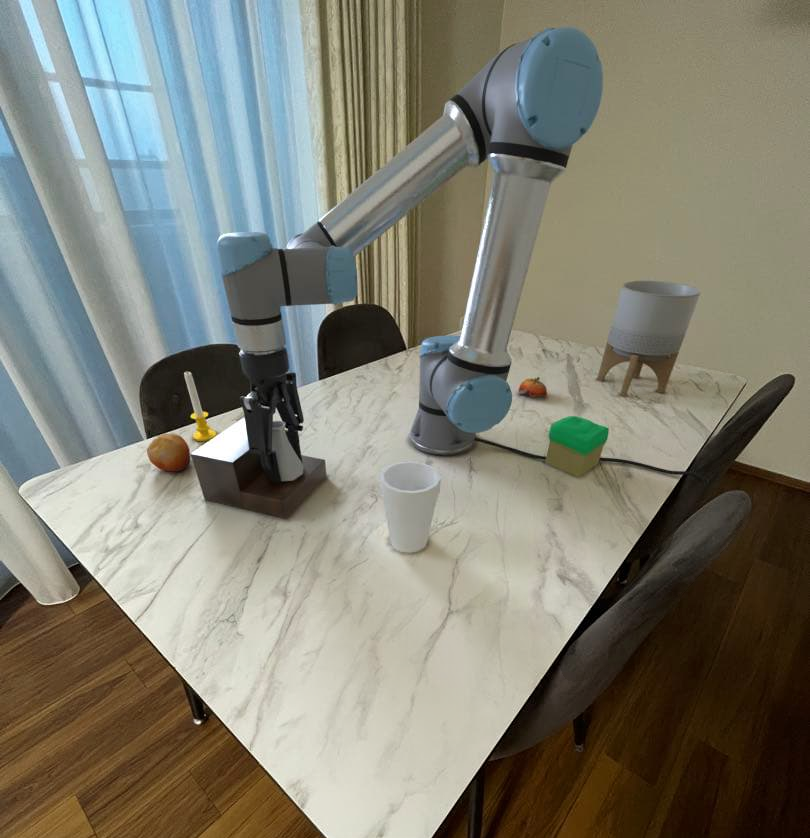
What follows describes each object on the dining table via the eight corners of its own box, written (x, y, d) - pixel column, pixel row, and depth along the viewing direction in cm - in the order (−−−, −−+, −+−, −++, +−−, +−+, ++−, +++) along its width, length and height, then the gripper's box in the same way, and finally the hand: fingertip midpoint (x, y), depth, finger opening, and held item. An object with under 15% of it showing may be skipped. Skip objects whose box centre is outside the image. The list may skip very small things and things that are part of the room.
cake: (559, 446, 108) (569, 405, 102) (602, 463, 102) (616, 420, 96) (536, 461, 103) (545, 418, 97) (580, 479, 97) (592, 435, 91)
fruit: (206, 451, 102) (184, 430, 95) (190, 483, 100) (167, 464, 92) (175, 445, 104) (152, 424, 97) (159, 476, 102) (134, 457, 94)
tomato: (552, 397, 127) (537, 375, 125) (529, 412, 130) (515, 391, 128) (548, 390, 134) (534, 369, 132) (527, 405, 137) (513, 385, 135)
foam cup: (380, 525, 84) (379, 462, 76) (431, 523, 85) (435, 460, 77) (383, 560, 77) (381, 494, 69) (439, 557, 78) (444, 491, 70)
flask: (295, 484, 86) (287, 435, 80) (259, 480, 88) (248, 431, 81) (309, 465, 92) (302, 417, 86) (275, 461, 93) (266, 414, 87)
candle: (221, 436, 111) (204, 370, 101) (200, 443, 108) (180, 376, 98) (210, 429, 114) (192, 364, 104) (189, 436, 111) (169, 370, 101)
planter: (669, 382, 141) (705, 285, 124) (657, 403, 128) (696, 299, 112) (605, 370, 148) (631, 277, 132) (588, 389, 136) (614, 289, 119)
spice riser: (326, 476, 97) (321, 432, 91) (286, 519, 86) (277, 472, 79) (252, 461, 102) (242, 418, 96) (204, 500, 90) (190, 453, 84)
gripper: (275, 329, 83) (294, 445, 98) (202, 365, 69) (237, 495, 83) (313, 333, 81) (326, 451, 96) (245, 371, 67) (273, 503, 81)
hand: (285, 471), depth 90 cm, fingers closed on flask, 7 cm apart
